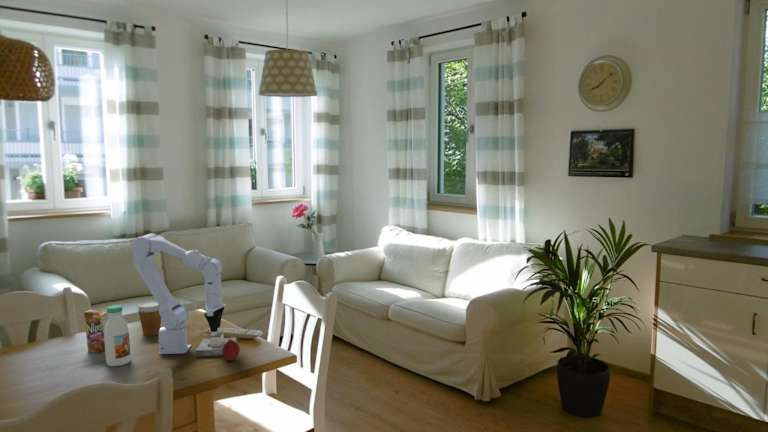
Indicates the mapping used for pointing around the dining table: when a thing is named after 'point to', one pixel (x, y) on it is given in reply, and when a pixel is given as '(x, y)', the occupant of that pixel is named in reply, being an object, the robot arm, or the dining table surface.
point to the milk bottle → (116, 338)
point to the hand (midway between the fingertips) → (215, 329)
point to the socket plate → (210, 349)
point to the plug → (216, 339)
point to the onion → (230, 350)
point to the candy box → (95, 329)
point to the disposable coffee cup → (150, 317)
